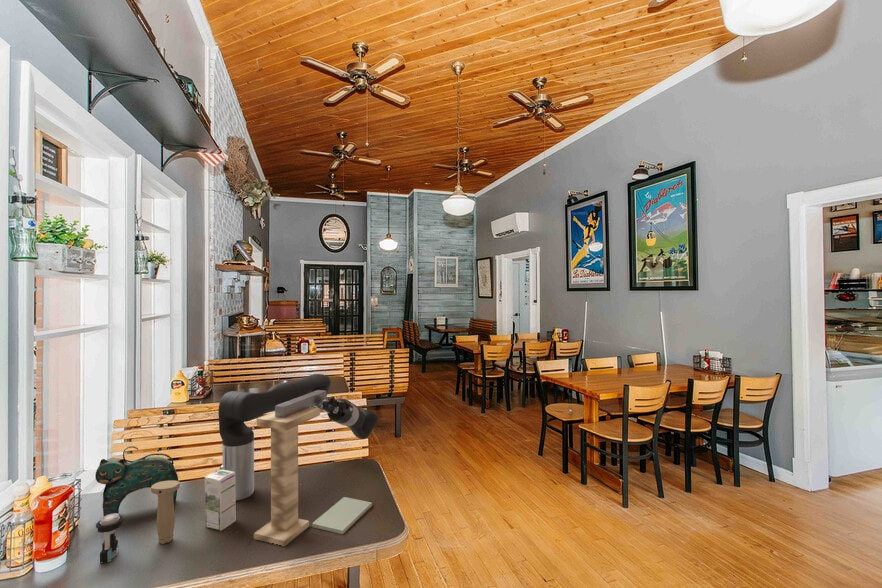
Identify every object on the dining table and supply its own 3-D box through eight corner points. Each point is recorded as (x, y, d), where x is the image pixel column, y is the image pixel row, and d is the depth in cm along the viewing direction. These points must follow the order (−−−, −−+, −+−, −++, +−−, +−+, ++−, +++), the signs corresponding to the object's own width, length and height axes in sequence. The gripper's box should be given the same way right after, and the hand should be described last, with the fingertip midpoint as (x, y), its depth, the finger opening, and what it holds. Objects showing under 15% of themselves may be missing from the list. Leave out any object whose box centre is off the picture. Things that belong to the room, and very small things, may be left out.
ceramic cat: (95, 525, 118) (94, 455, 118) (98, 515, 123) (98, 447, 123) (178, 506, 129) (178, 441, 128) (178, 497, 134) (177, 434, 134)
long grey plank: (275, 416, 114) (275, 405, 114) (318, 399, 132) (318, 389, 132) (283, 417, 113) (283, 406, 113) (326, 400, 131) (326, 390, 131)
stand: (254, 538, 112) (253, 419, 112) (292, 510, 126) (292, 404, 126) (284, 546, 109) (284, 423, 108) (319, 517, 123) (319, 408, 122)
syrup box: (236, 520, 121) (236, 470, 120) (219, 532, 115) (219, 479, 115) (221, 517, 123) (221, 467, 122) (204, 528, 117) (203, 476, 117)
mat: (312, 526, 118) (311, 523, 118) (344, 499, 133) (344, 496, 133) (342, 534, 114) (342, 530, 114) (371, 505, 129) (371, 502, 129)
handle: (173, 546, 109) (172, 488, 109) (147, 546, 108) (147, 489, 108) (183, 535, 114) (183, 480, 113) (158, 535, 113) (158, 480, 113)
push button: (104, 549, 107) (104, 510, 107) (129, 545, 109) (129, 507, 109) (92, 565, 101) (91, 524, 101) (118, 561, 103) (118, 521, 102)
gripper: (329, 399, 147) (303, 385, 134) (364, 403, 142) (341, 389, 129) (322, 421, 144) (295, 408, 130) (358, 426, 139) (334, 413, 125)
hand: (318, 399), depth 130 cm, fingers open, 8 cm apart
